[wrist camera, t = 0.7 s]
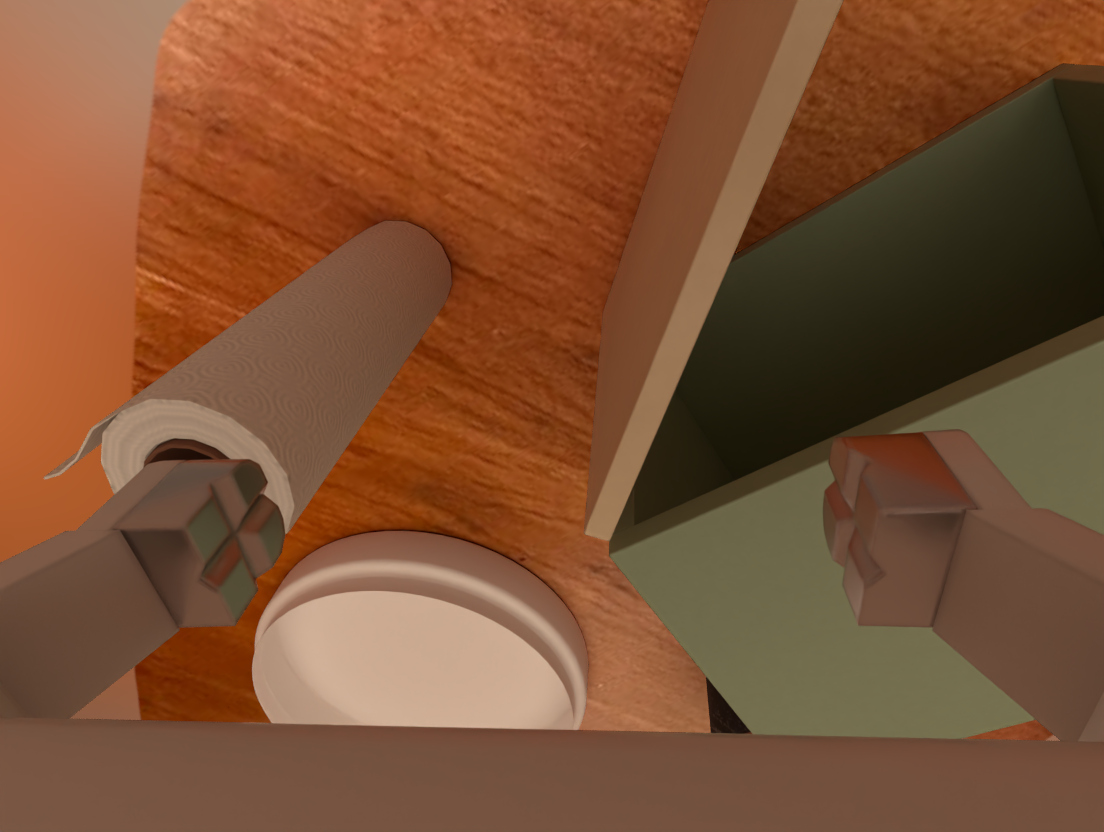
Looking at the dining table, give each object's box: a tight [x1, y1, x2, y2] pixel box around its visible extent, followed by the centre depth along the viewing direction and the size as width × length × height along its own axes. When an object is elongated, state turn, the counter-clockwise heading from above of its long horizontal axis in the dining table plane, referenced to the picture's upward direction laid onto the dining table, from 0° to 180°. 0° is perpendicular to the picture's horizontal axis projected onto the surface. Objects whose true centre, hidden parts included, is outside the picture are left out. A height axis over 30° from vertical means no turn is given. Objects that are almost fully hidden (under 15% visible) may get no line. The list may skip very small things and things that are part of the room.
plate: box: [252, 531, 589, 730], centre depth 52 cm, size 27×27×6 cm
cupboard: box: [609, 63, 1104, 739], centre depth 28 cm, size 14×24×20 cm, turn 125°
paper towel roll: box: [44, 221, 452, 534], centre depth 29 cm, size 7×6×21 cm
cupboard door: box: [584, 0, 843, 541], centre depth 23 cm, size 7×24×20 cm, turn 164°
